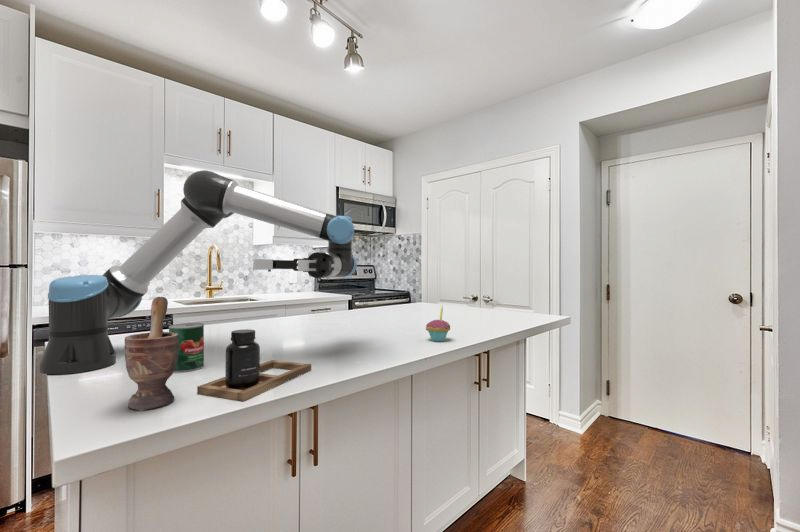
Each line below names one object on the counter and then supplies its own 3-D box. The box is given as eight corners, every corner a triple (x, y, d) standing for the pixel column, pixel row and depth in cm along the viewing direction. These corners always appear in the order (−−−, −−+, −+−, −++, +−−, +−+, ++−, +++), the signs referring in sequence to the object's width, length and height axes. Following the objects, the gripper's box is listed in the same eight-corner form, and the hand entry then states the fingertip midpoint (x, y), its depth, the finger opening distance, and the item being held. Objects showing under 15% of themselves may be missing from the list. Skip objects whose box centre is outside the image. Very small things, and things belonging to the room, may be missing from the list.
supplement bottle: (247, 393, 78) (247, 334, 78) (218, 390, 79) (218, 333, 79) (266, 382, 85) (266, 328, 85) (238, 380, 86) (238, 327, 86)
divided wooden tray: (197, 393, 79) (197, 386, 79) (272, 365, 100) (272, 359, 100) (243, 401, 74) (243, 393, 74) (311, 370, 96) (311, 364, 96)
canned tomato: (194, 372, 94) (193, 327, 94) (161, 372, 94) (161, 327, 94) (209, 363, 102) (209, 322, 102) (180, 363, 102) (179, 322, 102)
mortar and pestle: (121, 398, 76) (120, 297, 76) (171, 388, 82) (170, 295, 82) (127, 415, 67) (126, 302, 67) (182, 404, 73) (182, 299, 73)
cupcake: (438, 336, 139) (438, 304, 139) (455, 340, 133) (455, 306, 132) (420, 340, 134) (420, 305, 134) (438, 343, 127) (438, 307, 127)
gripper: (360, 279, 110) (319, 281, 90) (288, 276, 119) (236, 278, 99) (361, 252, 110) (320, 249, 90) (288, 252, 119) (237, 249, 99)
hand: (276, 264), depth 94 cm, fingers open, 13 cm apart
